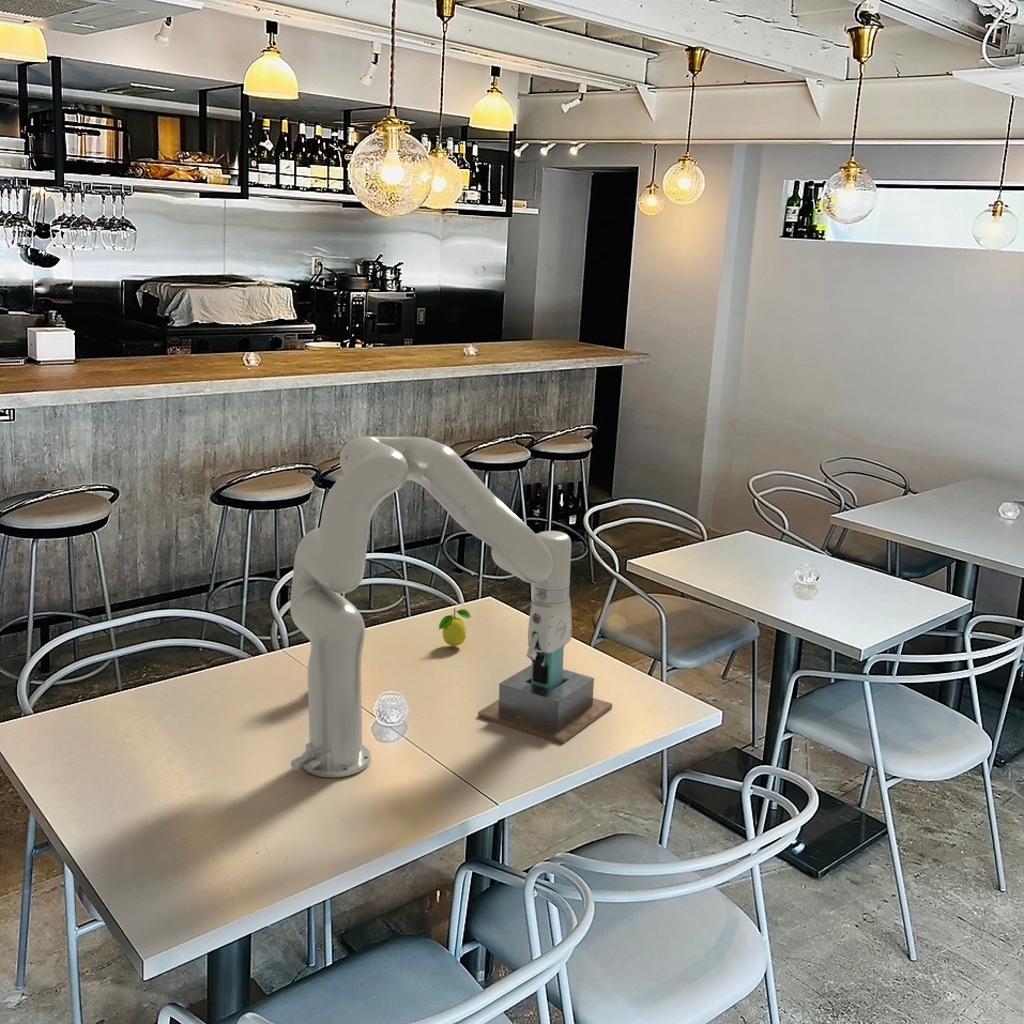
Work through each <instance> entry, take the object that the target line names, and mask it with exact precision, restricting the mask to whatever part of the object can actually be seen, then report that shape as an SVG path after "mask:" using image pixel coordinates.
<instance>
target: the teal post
mask: <svg viewBox="0 0 1024 1024" xmlns="http://www.w3.org/2000/svg"><path fill="white" fill-rule="evenodd" d="M538 648H539V649H541V648H540V646H538ZM564 648H565V646H562V647H561V648H559V649H557V650H555V651H554V652H552V653H550V654H548V657H547V663H546V665H548V682H547V684H541V683H538V682H534V681H533V664H532V663H531V665H532V674H531V684H533V685H537V686H540V687H544V688H547V689H550V690H553V689H555V688H557V687H558V686H560V685H561V684H562V676H563V669H564ZM538 655H539V656H540V657H541V658H542V655H543V654H542V653H539V652H538Z"/></svg>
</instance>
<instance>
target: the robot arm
mask: <svg viewBox="0 0 1024 1024" xmlns="http://www.w3.org/2000/svg"><path fill="white" fill-rule="evenodd" d="M339 465H340V469H341V471H342V473H343V474H342V476H340V477H339V478H338V480H337V481H335V482H334V484H333V485H332V486H331V488H330V489H329V491H328V493H327V495H326V497H325V499H324V503H323V508H322V513H321V519H320V524H319V527H316V528H314V529H312V530H310V531H307V533H306V534H305V535H304V536H303V537H302V538H301V540H300V541H299V543H298V546H297V548H296V551H295V554H294V560H293V570H292V571H293V572H292V583H291V591H290V592H291V593H290V602H289V603H290V606H289V607H290V616H291V618H292V621H293V623H294V625H295V626H296V627H297V628H298V629H299V630H300V631H301V632H302V634H304V635H305V637H306V638H307V639H308V640H309V642H310V653H309V657H308V661H307V662H308V664H307V689H308V691H307V694H308V695H307V696H308V731H309V732H308V734H309V735H308V736H309V740H308V743H307V744H305V750H304V752H302V754H301V755H299V756H297V757H296V758H294V759H292V760H291V761H290V765H291V768H292V769H293V770H295V771H297V770H300V769H302V768H303V770H305V771H306V772H308V774H312V775H314V776H317V777H322V778H344V777H348V776H352V775H355V774H357V773H360V772H361V771H363V770H365V769H366V768H367V767H368V766H369V765H370V763H371V761H372V760H371V759H372V758H371V756H372V755H371V752H370V750H369V749H368V747H366V746H365V745H363V723H362V722H363V721H362V719H363V718H362V717H363V715H362V712H363V711H362V708H363V707H362V705H363V704H362V698H363V697H362V657H363V648H364V644H365V636H366V627H365V621H364V619H363V616H362V614H361V613H360V611H359V610H358V609H357V607H356V606H355V605H354V604H353V603H352V602H350V601H349V600H348V599H346V598H345V597H344V596H342V595H341V594H347V593H350V592H353V591H354V590H356V589H357V588H358V587H359V586H360V584H361V583H362V581H363V577H364V576H365V570H366V563H367V552H368V551H367V550H368V541H369V533H370V527H371V521H372V517H373V514H374V512H375V510H376V509H377V507H378V506H379V504H381V503H382V502H383V501H384V500H385V499H386V498H387V497H389V496H391V495H392V494H394V493H395V492H396V491H398V490H399V489H400V488H401V487H403V485H404V484H405V482H406V481H412V482H415V483H416V484H419V485H420V486H422V487H423V488H424V489H425V490H426V491H427V492H428V493H429V494H430V495H431V496H432V497H433V498H434V499H435V500H436V501H437V502H438V503H439V505H441V506H442V507H443V508H444V510H445V511H446V512H447V513H448V514H449V515H450V516H451V518H453V520H454V521H455V522H456V523H458V525H459V526H461V528H463V529H464V530H465V531H466V532H468V533H470V534H471V535H472V536H474V537H476V538H477V539H479V540H481V541H482V542H483V543H485V544H487V545H488V546H489V547H491V558H492V560H493V562H494V563H495V565H496V566H498V567H499V568H500V569H502V570H503V571H505V572H507V573H509V574H511V575H513V576H514V577H517V578H518V579H520V580H521V581H523V582H526V583H529V584H531V594H530V596H531V597H530V598H531V599H530V600H531V606H530V612H529V617H528V618H529V619H528V629H527V646H528V650H527V652H526V657H527V658H528V659H530V660H531V665H532V664H533V681H534V682H538V683H541V684H547V682H548V665H546V663H547V657H548V654H550V653H552V652H554V651H555V650H557V649H559V648H561V647H562V646H564V647H565V646H566V645H567V644H569V643H570V642H571V640H572V630H573V629H572V624H573V623H572V606H571V597H570V581H571V578H570V577H571V560H572V559H571V557H572V540H571V537H570V536H569V535H568V534H567V533H565V532H562V531H559V530H544V531H540V532H538V533H535V532H534V531H533V530H532V529H531V527H529V526H528V525H527V523H525V522H524V521H523V520H522V519H520V517H519V516H517V515H516V514H515V513H514V512H513V511H512V510H511V509H510V508H509V507H508V506H507V505H506V504H505V503H504V502H503V501H502V500H501V499H499V498H498V497H497V496H496V495H495V494H494V493H493V492H492V491H491V490H490V488H488V486H486V484H485V483H484V482H483V481H482V480H481V479H480V478H479V476H477V474H476V473H474V471H473V470H472V469H471V468H470V467H469V466H468V464H467V463H466V462H465V461H464V460H463V459H462V457H460V455H458V453H457V452H455V450H453V448H451V447H449V446H447V445H446V444H444V443H441V442H438V441H435V440H433V439H430V438H427V437H423V436H378V435H377V436H375V435H374V436H373V435H372V436H369V435H367V436H360V437H359V436H358V437H355V438H353V439H351V440H349V441H348V442H347V443H346V444H345V445H344V447H343V448H342V449H341V452H340V456H339ZM538 646H540V648H541V649H539V648H538ZM538 652H539V653H542V654H543V655H542V658H541V657H540V656H539V655H538Z"/></svg>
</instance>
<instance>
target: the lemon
mask: <svg viewBox="0 0 1024 1024" xmlns="http://www.w3.org/2000/svg"><path fill="white" fill-rule="evenodd" d="M456 613H457V614H458V615H459V616H460V617H462V618H464V619H471V617H472V616H471V614H470V612H469V611H468V610H466V609H463V608H462V609H459V610H456V607H454V608H453V614H451V615H450V614H449V615H445V616H444V617H443V618H441V620H440V622H439V625H438V630H441V629H442V639H443V640H444V642H445V643H446V644H447V645H449V646H451V647H452V648H456V647H457V646H460V645H462V644H463V643H464V641H465V640H466V638H467V637H466V636H467V630H466V625H465V623H464V622H463V620H462V619H461V618H459V617H457V616H456Z"/></svg>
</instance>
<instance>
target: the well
mask: <svg viewBox="0 0 1024 1024" xmlns="http://www.w3.org/2000/svg"><path fill="white" fill-rule="evenodd" d="M531 674H532V664H530V665H529V666H527V667H525V668H523V669H522V670H520V671H518V672H516V673H515V674H513V675H511V676H510V677H508V678H507V679H504V680H503V681H501V682H499V687H498V699H497V700H495V701H494V702H492V703H491V704H488V706H486V707H484V708H481V710H479V711H478V712H477V717H478V718H481V719H485V720H488V721H490V722H493V721H494V723H496V722H497V723H496V724H499V723H500V724H501V725H502V724H504V725H503V726H506V727H509V726H510V727H509V728H512V729H515V728H516V729H515V730H518V729H519V730H518V731H521V730H522V731H521V732H524V731H525V732H524V733H527V732H528V733H527V734H530V733H531V735H533V734H534V735H533V736H536V735H538V736H537V737H539V736H541V737H540V738H542V737H544V739H546V738H547V739H546V740H549V741H552V742H556V743H558V744H561V745H563V744H565V743H566V742H568V741H569V740H570V739H571V737H572V738H573V737H574V736H576V735H577V734H578V733H580V732H581V731H583V730H584V729H585V728H587V727H588V726H589V725H591V724H593V723H594V722H595V721H596V720H598V719H600V717H602V716H603V715H605V714H606V713H607V712H609V711H610V710H611V709H612V708H613V703H611V702H608V701H606V700H601V699H599V698H594V685H595V684H594V683H595V677H592V676H588V675H585V674H582V673H578V672H574V671H570V670H568V669H564V668H563V676H562V684H561V685H560V686H558V687H557V688H555V689H553V690H550V689H547V688H544V687H540V686H537V685H533V684H531ZM586 726H587V727H586ZM582 729H583V730H582Z"/></svg>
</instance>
